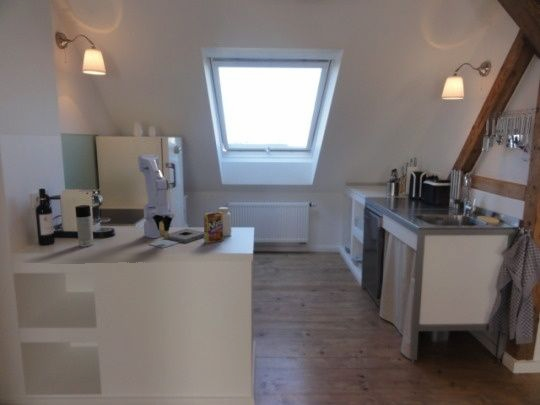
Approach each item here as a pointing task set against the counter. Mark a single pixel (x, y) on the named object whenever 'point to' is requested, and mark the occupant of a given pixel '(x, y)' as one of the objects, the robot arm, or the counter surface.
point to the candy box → (213, 227)
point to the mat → (164, 243)
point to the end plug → (163, 230)
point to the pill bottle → (226, 221)
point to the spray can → (84, 225)
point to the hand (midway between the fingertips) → (163, 230)
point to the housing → (181, 236)
